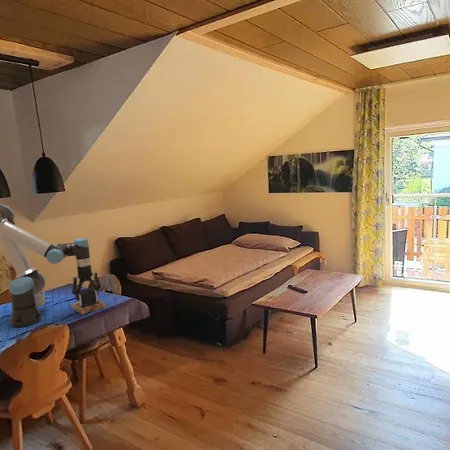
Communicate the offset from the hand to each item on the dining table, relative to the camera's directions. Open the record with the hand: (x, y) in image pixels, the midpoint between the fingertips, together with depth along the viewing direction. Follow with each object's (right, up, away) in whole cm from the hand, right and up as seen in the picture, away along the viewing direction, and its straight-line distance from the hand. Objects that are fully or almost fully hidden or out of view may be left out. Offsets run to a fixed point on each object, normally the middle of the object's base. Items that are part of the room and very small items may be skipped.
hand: (88, 303), depth 233 cm
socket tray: (0, -3, +1) cm, 3 cm away
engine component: (-35, -3, +13) cm, 38 cm away
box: (0, -3, +1) cm, 3 cm away
